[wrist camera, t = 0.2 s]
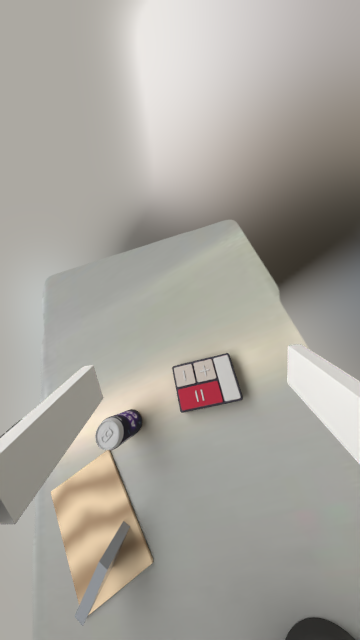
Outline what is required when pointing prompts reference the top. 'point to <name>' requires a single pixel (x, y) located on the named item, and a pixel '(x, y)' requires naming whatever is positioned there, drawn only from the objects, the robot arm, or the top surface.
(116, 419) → the beverage can
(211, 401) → the calculator
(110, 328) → the top surface
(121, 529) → the slate tile
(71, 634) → the top surface
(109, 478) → the cork mat
